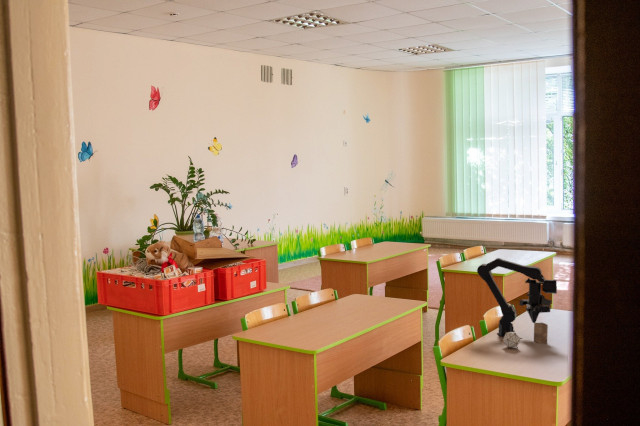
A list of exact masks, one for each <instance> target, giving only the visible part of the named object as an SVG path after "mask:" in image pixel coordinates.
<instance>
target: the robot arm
mask: <svg viewBox="0 0 640 426" xmlns="http://www.w3.org/2000/svg"><path fill="white" fill-rule="evenodd" d="M499 267H500V268H503V269H506V270H510V271H514V272H516V273H520V274H522V275H524V276H526V277H527V278H526V280H525V281H524V283H525V284H528V292H527V293H526V296H527V297H528V298H527V299H520V300H519V301H518V302H519V306H521V307H524V306H526V307H525V310H526V311H527V313H528V315H529V318H530V320H531V322H532V323H533V324H534V323H537V319H538V318H539V314H541V313H544V314H545V313H550V312H551V304H552V302H553V301H552V300H551V299H549V298H546V297H545V296H544V295H543V294H542V292H544V293H545V294H555V295H556V294H557V293H558V286H557V283H558V282H557V281H558V280H557V279H546V278H545V276H544V275H543V273H542V269H541V268H540V267H539V266H533V265H523V264H520V263H516V262H513V261H509V260H506V259H503V258H501V257H497V258H495V259H494V260H492V261H490V262H488V263H481V264H480V265H479V266H478V267H477V269H476V272H477V274H478V275H479V277H480V278H481V279H482V280H483V281H484V282H485V284H486V285H487V286H488V288H489V289H490V292H491V293H492V295H493V297H494V299H495V300H496V302H497V304H498V306H499V308H500V311H501V315H502V316H501V317H500V319H499V320H498V332H497V333H496V335H498V336H500V337H502V338H504V336H505V334H506V332H513V331H514V324H513V322H514V321H515V320H516V318H517V310H516V308H515V306H514V304H510V303H508V301H507V300H506V298H505V296H504V295H503V293H502V291H501V290H500V287H499V286H498V284H497V283H496V281H495V279H494V276H493V272H492V271H493V270H495V269H497V268H499ZM505 331H506V332H505Z"/></svg>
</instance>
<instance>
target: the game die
mask: <svg viewBox="0 0 640 426" xmlns="http://www.w3.org/2000/svg"><path fill="white" fill-rule="evenodd" d="M505 332H506V331H505ZM522 339H523V338H522V337H520V336H518V334H517V333H516V331H515V330H513V332H506V334H505V336H504V337H502V340H501V341H500V342H503V343H504V344H505V345H506V346H507V349H508V350H509V349H510V348H517V349H518V348H519V347H518V345H519V343H520V340H522Z"/></svg>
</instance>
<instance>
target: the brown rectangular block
mask: <svg viewBox="0 0 640 426" xmlns="http://www.w3.org/2000/svg"><path fill="white" fill-rule="evenodd" d="M548 327H549V326H548V324H547V323H544V322H535V323H533V341H534V342H535V343H538V344H547V343H548Z"/></svg>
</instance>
